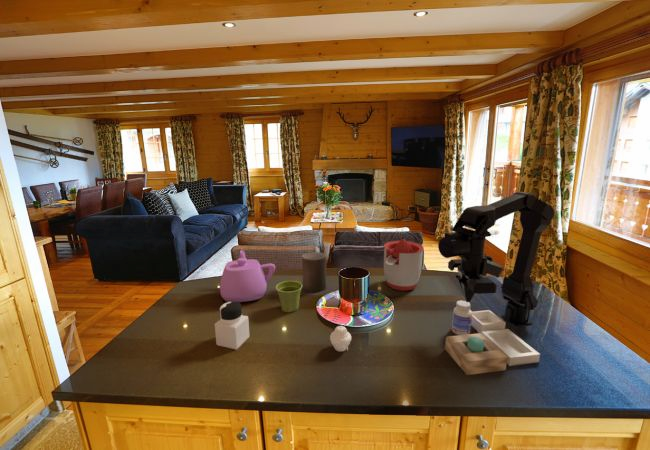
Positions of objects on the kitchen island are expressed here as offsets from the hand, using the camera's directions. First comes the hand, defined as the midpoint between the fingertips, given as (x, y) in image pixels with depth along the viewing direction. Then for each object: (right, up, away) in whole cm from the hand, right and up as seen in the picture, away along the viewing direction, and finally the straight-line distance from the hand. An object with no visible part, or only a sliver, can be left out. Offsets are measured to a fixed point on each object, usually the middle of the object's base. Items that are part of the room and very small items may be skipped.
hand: (467, 301), depth 98 cm
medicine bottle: (-70, -12, +1) cm, 71 cm away
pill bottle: (0, -11, +5) cm, 12 cm away
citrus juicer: (-12, -2, +38) cm, 40 cm away
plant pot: (-55, -7, +20) cm, 59 cm away
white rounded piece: (-38, -13, -3) cm, 40 cm away
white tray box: (+9, -10, +8) cm, 15 cm away
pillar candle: (-47, -3, +37) cm, 60 cm away
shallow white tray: (+10, -13, -4) cm, 17 cm away
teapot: (-74, -5, +31) cm, 80 cm away
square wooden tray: (-2, -14, -8) cm, 16 cm away
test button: (-2, -12, -8) cm, 15 cm away
